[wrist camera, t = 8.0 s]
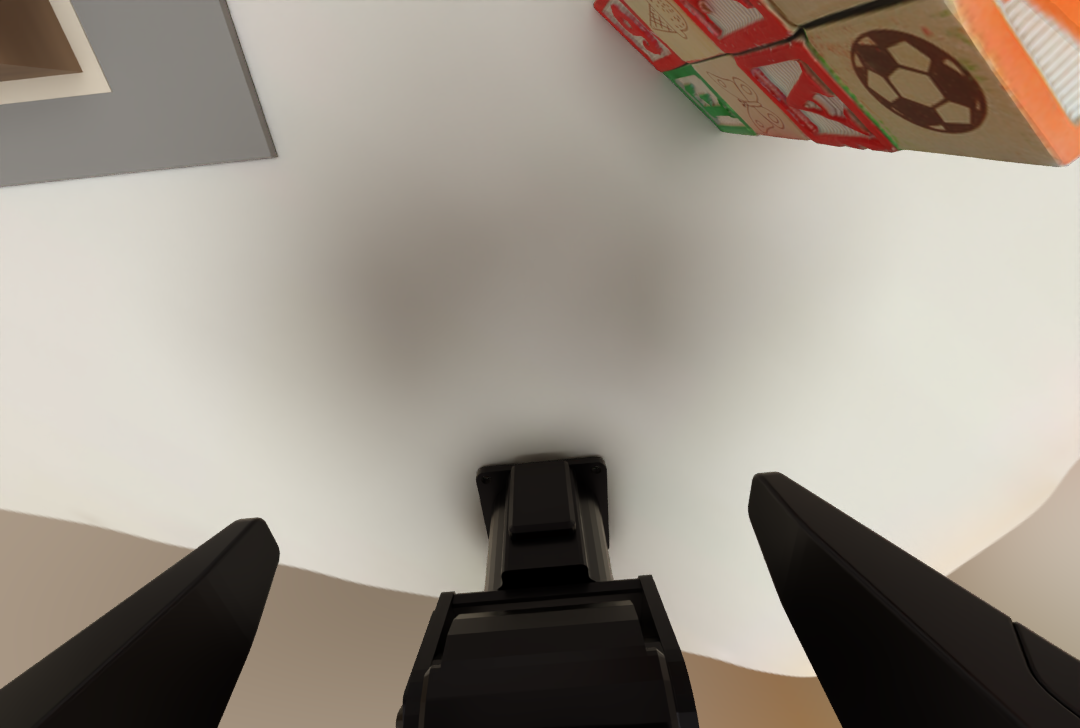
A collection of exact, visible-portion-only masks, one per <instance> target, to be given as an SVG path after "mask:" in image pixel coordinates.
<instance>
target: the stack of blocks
mask: <svg viewBox="0 0 1080 728" xmlns="http://www.w3.org/2000/svg"><path fill="white" fill-rule="evenodd" d="M594 8H595V9H596V10H597V11H598V12H599V13H600V14H601V15H602V16H603V17H604V18H605V19H606V20H607V21H608V22H609V23H610V24H611V25H612V26H613V27H614V28H615V29H616V30H617V31H618V32H619V33H620V34H621V35H622V36H623V37H624V38H625V39H626V40H627V41H628V42H629V43H630V44H631V45H632V46H633V47H635V48H636V49H637V50H638V51H639V52H640V53H641V54H642V55H643V56H644V57H645V58H646V59H647V60H648V61H649V62H650V63H651V64H652V65H653V66H654V67H655V68H656V69H657V70H658V71H660V72H662V73H664V74H665V75H666V76H667V77H668V78H669V79H670V80H671V81H672V82H673V83H674V84H675V85H676V86H677V87H678V88H679V89H680V90H681V91H682V92H683V93H684V94H685V95H686V96H687V97H688V98H689V99H690V100H691V101H692V102H693V103H694V104H695V105H696V106H697V107H698V108H699V109H700V110H701V111H702V112H703V113H704V114H705V115H706V116H707V117H708V118H709V119H710V120H711V121H712V122H713V123H714V124H715V125H716V126H717V127H718V128H719V129H720V130H721V131H723V132H727V133H734V134H742V135H753V136H758V135H760V134H761V135H766V136H773V137H781V138H788V139H798V140H810V139H811V140H812V141H814V142H816V143H819V144H825V145H831V146H837V147H842V146H847V147H852V148H857V149H862V150H864V149H868V148H869V149H871V150H876V151H884V152H891V153H892V152H896V151H900V150H914V151H922V152H931V153H940V154H949V155H957V156H966V157H974V158H982V159H989V160H997V161H1006V162H1015V163H1024V164H1033V165H1043V166H1053V167H1064V166H1069V165H1070V164H1071V163H1072V162H1074V161H1075V160H1076V159H1077V158H1079V157H1080V0H595V2H594Z"/></svg>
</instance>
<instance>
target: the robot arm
mask: <svg viewBox="0 0 1080 728" xmlns="http://www.w3.org/2000/svg"><path fill="white" fill-rule="evenodd" d="M595 466H599V468H596V469H594V468H593V467H595ZM484 476H488V477H490V478H484ZM476 482H477V487H478V492H479V497H480V501H481V506H482V511H483V515H484V520H485V525H486V530H487V534H488V539H489V546H488V557H487V568H486V579H485V590H484V591H482V592H470V593H458V594H456V593H455V591H454V592H442V593H441V595H440V597H439V600H438V603H437V606H436V609H435V611H433V613H432V616H431V618H430V621H429V624H428V627H427V630H426V633H425V635H424V638H423V641H422V644H421V647H420V649H419V652H418V655H417V658H416V661H415V663H414V666H413V669H412V672H411V675H410V677H409V680H408V683H407V686H406V689H405V691H404V695H403V705H402V706H401V708H400V710H399V712H398V714H397V719H396V728H699V723H698V717H697V711H696V706H695V701H694V697H693V692H692V689H691V684H690V680H689V676H688V672H687V669H686V665H685V662H684V659H683V656H682V653H681V650H680V647H679V645H678V642H677V639H676V637H675V634H674V632H673V629H672V626H671V624H670V621H669V619H668V616H667V613H666V611H665V608H664V606H663V603H662V600H661V598H660V595H659V593H658V590H657V588H656V585H655V582H654V580H653V577H652V575H643V576H638V578H636V579H624V580H613V576H612V570H611V565H610V559H609V554H608V549H609V524H608V496H607V469H606V465H605V461H604V460H603V459H602V458H600V457H589V458H578V459H567V460H555V461H544V462H533V463H522V464H511V465H500V466H489V467H483V468H481V469H479V470H478V472H477V477H476ZM748 513H749V518H750V521H751V524H752V527H753V529H754V532H755V535H756V538H757V540H758V543H759V546H760V548H761V551H762V554H763V556H764V559H765V562H766V564H767V567H768V570H769V573H770V575H771V578H772V581H773V583H774V586H775V589H776V591H777V594H778V596H779V599H780V601H781V603H782V606H783V608H784V610H785V612H786V614H787V616H788V618H789V620H790V622H791V624H792V626H793V628H794V630H795V633H796V635H797V637H798V639H799V641H800V643H801V645H802V647H803V649H804V651H805V653H806V655H807V657H808V659H809V661H810V663H811V665H812V667H813V669H814V671H815V673H816V675H817V677H818V679H819V681H820V683H821V685H822V687H823V689H824V691H825V693H826V695H827V697H828V699H829V701H830V703H831V705H832V707H833V709H834V711H835V713H836V715H837V717H838V719H839V721H840V723H841V725H842V727H843V728H1080V660H1078V659H1076V658H1075V657H1073V656H1071V655H1070V654H1068V653H1067V652H1065V651H1063V650H1062V649H1060V648H1059V647H1057V646H1055V645H1054V644H1052V643H1050V642H1049V641H1047V640H1046V639H1044V638H1043V637H1041V636H1039V635H1038V634H1036V633H1035V632H1033V631H1031V630H1029V629H1028V628H1027V627H1025V626H1023V625H1022V624H1020V623H1018V622H1012V620H1011V618H1010V617H1009V616H1007V615H1006V614H1004V613H1002V612H1001V611H999V610H998V609H996V608H995V607H993V606H991V605H990V604H988V603H987V602H985V601H983V600H982V599H980V598H979V597H977V596H975V595H974V594H972V593H971V592H969V591H967V590H966V589H964V588H963V587H961V586H959V585H958V584H956V583H955V582H953V581H952V580H950V579H949V578H947V577H945V576H944V575H942V574H941V573H939V572H937V571H936V570H934V569H933V568H931V567H929V566H928V565H926V564H925V563H923V562H922V561H920V560H918V559H917V558H915V557H914V556H912V555H910V554H909V553H907V552H906V551H904V550H902V549H901V548H899V547H898V546H896V545H895V544H893V543H891V542H890V541H888V540H887V539H885V538H883V537H882V536H880V535H879V534H877V533H875V532H874V531H872V530H871V529H869V528H868V527H866V526H864V525H863V524H861V523H860V522H858V521H856V520H855V519H853V518H852V517H850V516H848V515H847V514H845V513H844V512H842V511H841V510H839V509H837V508H836V507H834V506H833V505H831V504H829V503H828V502H826V501H825V500H823V499H822V498H820V497H818V496H817V495H815V494H814V493H812V492H810V491H809V490H807V489H806V488H804V487H802V486H801V485H799V484H798V483H796V482H795V481H793V480H791V479H790V478H788V477H787V476H785V475H783V474H782V473H779V472H766V473H757V474H755V475H754V477H753V480H752V485H751V491H750V497H749V504H748ZM279 556H280V551H279V547H278V545H277V543H276V541H275V539H274V537H273V535H272V533H271V531H270V529H269V527H268V525H267V524H266V522H265V521H264V520H263V519H261V518H246V519H239V520H236V521H235V522H233V523H232V524H230V525H229V526H227V527H226V528H225V529H223V530H222V531H220V532H219V533H218V534H216V535H215V536H213V537H212V538H211V539H209V540H208V541H206V542H205V543H204V544H202V545H201V546H199V547H198V548H197V549H195V550H194V551H192V552H191V553H190V554H188V555H187V556H186V557H184V558H183V559H181V560H180V561H179V562H177V563H176V564H175V565H173V566H172V567H170V568H169V569H168V570H166V571H165V572H163V573H162V574H160V575H159V576H158V577H156V578H155V579H153V580H152V581H151V582H149V583H148V584H146V585H145V586H144V587H142V588H141V589H140V590H138V591H137V592H135V593H134V594H133V595H131V596H130V597H128V598H127V599H126V600H124V601H123V602H121V603H120V604H119V605H117V606H116V607H114V608H113V609H112V610H110V611H109V612H107V613H106V614H105V615H103V616H102V617H100V618H99V619H98V620H96V621H95V622H93V623H92V624H91V625H89V626H88V627H86V628H85V629H84V630H82V631H81V632H80V633H78V634H77V635H75V636H74V637H72V638H71V639H70V640H68V641H67V642H65V643H64V644H63V645H61V646H60V647H59V648H57V649H56V650H54V651H53V652H52V653H50V654H49V655H48V656H46V657H45V658H43V659H42V660H41V661H39V662H38V663H36V664H35V665H33V666H32V667H31V668H29V669H28V670H26V671H25V672H24V673H22V674H21V675H20V676H18V677H17V678H15V679H14V680H12V681H11V682H10V683H8V684H7V685H6V686H4V687H3V688H2V689H0V728H218V725H219V722H220V720H221V718H222V716H223V713H224V711H225V709H226V706H227V704H228V701H229V699H230V697H231V694H232V692H233V689H234V687H235V685H236V682H237V680H238V678H239V675H240V673H241V671H242V668H243V666H244V664H245V661H246V659H247V656H248V654H249V651H250V648H251V646H252V643H253V640H254V637H255V635H256V632H257V629H258V625H259V622H260V619H261V616H262V613H263V609H264V606H265V603H266V600H267V597H268V594H269V591H270V587H271V584H272V581H273V577H274V575H275V572H276V568H277V565H278V562H279Z"/></svg>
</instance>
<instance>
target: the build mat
mask: <svg viewBox="0 0 1080 728" xmlns="http://www.w3.org/2000/svg"><path fill="white" fill-rule="evenodd" d="M49 2H50V4H51V6H52V8H53V10H54V12H55V14H56V16H57V18H58V21H59V23H60V25H61V27H62V29H63V31H64V33H65V35H66V37H67V39H68V42H69V44H70V46H71V48H72V50H73V52H74V54H75V56H76V58H77V60H78V62H79V65H80V67H81V69H82V71H83V72H82V73H73V74H64V75H55V76H47V77H38V78H29V79H20V80H11V81H3V82H0V187H4V186H13V185H22V184H32V183H41V182H50V181H60V180H69V179H78V178H87V177H97V176H106V175H115V174H124V173H134V172H143V171H152V170H161V169H171V168H180V167H189V166H198V165H208V164H217V163H226V162H236V161H245V160H254V159H263V158H272V157H277V154H276V151H275V148H274V145H273V142H272V139H271V136H270V133H269V130H268V127H267V124H266V121H265V118H264V115H263V112H262V109H261V106H260V103H259V100H258V97H257V94H256V91H255V88H254V85H253V82H252V79H251V76H250V73H249V70H248V67H247V64H246V61H245V58H244V55H243V52H242V49H241V46H240V43H239V40H238V37H237V34H236V31H235V28H234V25H233V22H232V19H231V16H230V13H229V10H228V7H227V4H226V1H225V0H49Z"/></svg>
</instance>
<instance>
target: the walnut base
mask: <svg viewBox="0 0 1080 728" xmlns="http://www.w3.org/2000/svg"><path fill="white" fill-rule="evenodd" d="M82 72H83V71H82V69H81V67H80V65H79V62H78V60H77V58H76V56H75V54H74V52H73V50H72V48H71V46H70V44H69V42H68V39H67V37H66V35H65V33H64V31H63V29H62V27H61V25H60V23H59V21H58V18H57V16H56V14H55V12H54V10H53V8H52V6H51V4H50V2H49V0H0V82H3V81H11V80H20V79H29V78H38V77H47V76H55V75H64V74H73V73H82Z"/></svg>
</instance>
